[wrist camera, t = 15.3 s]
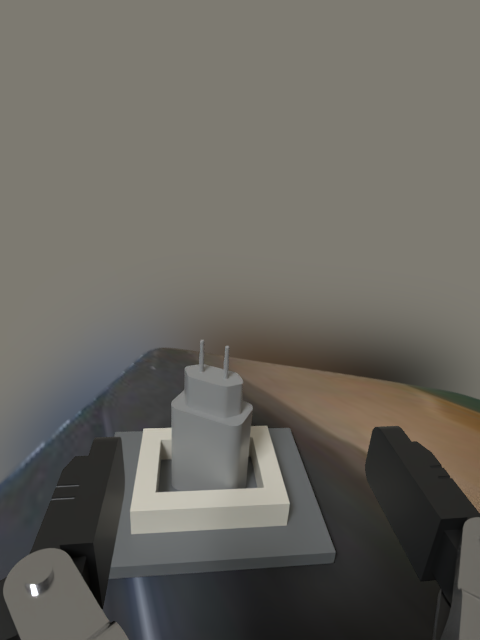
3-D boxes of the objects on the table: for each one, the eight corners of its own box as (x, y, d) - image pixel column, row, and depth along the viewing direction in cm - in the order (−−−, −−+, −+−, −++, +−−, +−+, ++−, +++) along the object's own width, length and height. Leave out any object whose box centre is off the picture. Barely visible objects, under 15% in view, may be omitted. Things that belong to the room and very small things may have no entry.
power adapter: (232, 511, 29) (243, 362, 24) (167, 485, 30) (166, 342, 26) (248, 482, 31) (261, 342, 27) (188, 460, 33) (190, 326, 29)
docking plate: (288, 436, 38) (291, 410, 37) (333, 563, 26) (340, 529, 25) (116, 441, 36) (114, 413, 35) (80, 581, 24) (76, 545, 23)
